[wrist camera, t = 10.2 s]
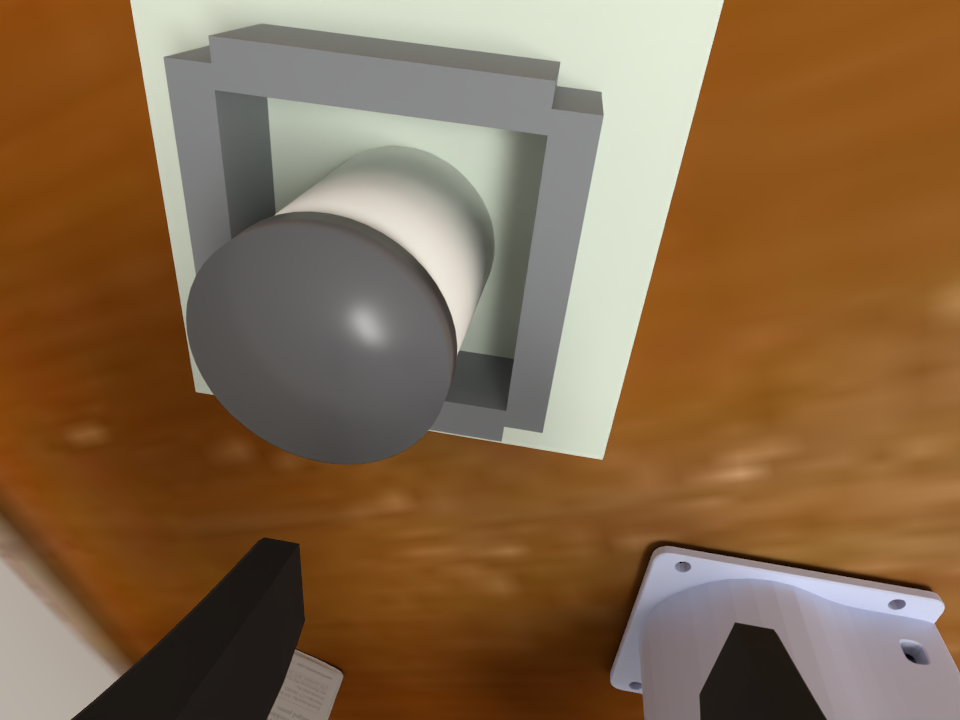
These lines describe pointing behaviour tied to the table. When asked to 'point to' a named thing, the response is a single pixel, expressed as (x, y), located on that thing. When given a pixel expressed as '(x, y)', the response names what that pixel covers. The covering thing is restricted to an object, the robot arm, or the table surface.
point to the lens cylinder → (346, 307)
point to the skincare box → (307, 690)
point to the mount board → (451, 162)
